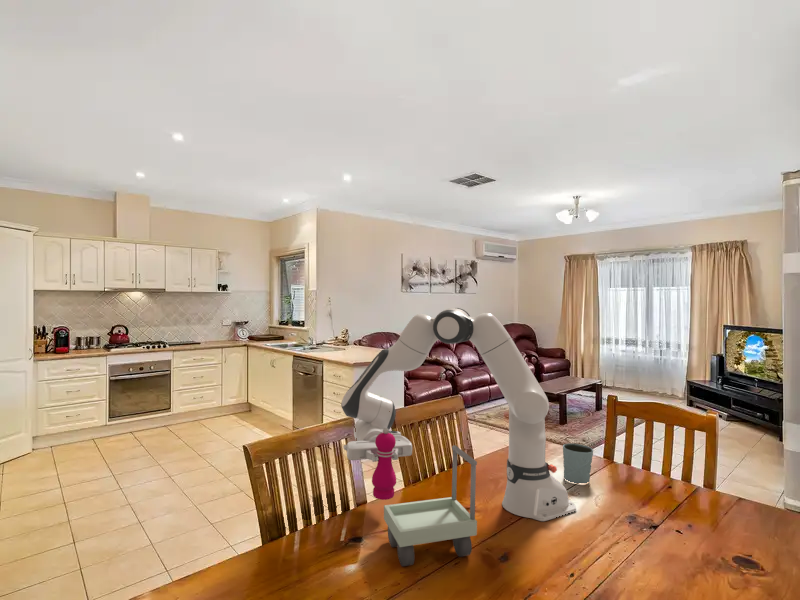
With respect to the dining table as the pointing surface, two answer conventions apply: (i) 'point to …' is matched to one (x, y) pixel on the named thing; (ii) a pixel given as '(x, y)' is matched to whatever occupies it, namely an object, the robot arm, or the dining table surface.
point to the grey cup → (577, 462)
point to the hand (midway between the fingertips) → (385, 458)
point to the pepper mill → (384, 467)
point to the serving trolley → (433, 519)
